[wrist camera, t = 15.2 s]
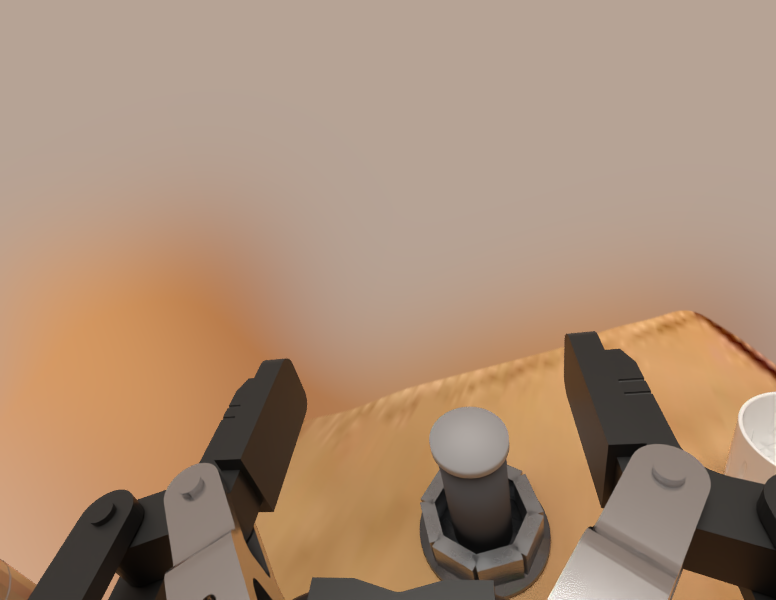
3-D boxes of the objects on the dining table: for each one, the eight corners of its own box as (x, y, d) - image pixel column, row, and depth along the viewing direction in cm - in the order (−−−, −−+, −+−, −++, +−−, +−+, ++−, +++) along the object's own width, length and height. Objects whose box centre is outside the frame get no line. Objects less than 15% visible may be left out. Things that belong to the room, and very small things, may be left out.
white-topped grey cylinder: (438, 538, 38) (414, 450, 31) (469, 486, 41) (453, 397, 35) (498, 575, 35) (486, 485, 28) (527, 515, 38) (521, 423, 31)
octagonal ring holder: (397, 553, 38) (388, 531, 36) (457, 456, 45) (453, 433, 43) (519, 633, 32) (517, 612, 30) (568, 506, 38) (569, 482, 36)
